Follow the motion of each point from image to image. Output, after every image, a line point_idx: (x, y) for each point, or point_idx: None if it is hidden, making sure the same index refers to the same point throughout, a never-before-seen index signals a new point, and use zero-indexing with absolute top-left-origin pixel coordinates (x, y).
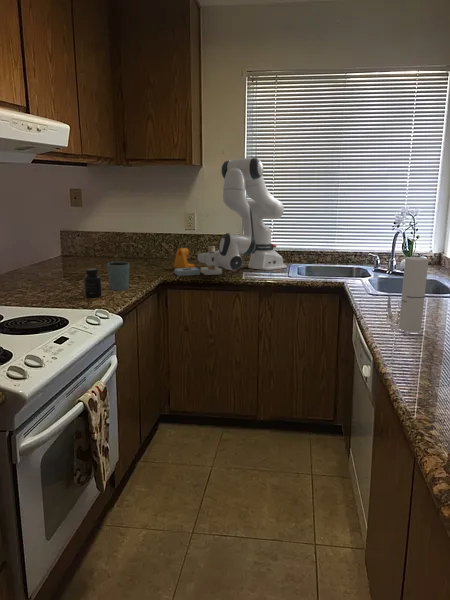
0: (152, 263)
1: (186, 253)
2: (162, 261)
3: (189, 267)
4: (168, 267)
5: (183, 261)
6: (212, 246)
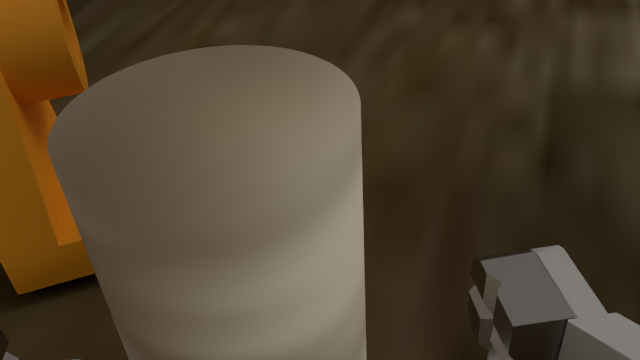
0: None
1: (19, 60)
2: (130, 3)
3: (86, 257)
4: None
5: None
6: (233, 128)
